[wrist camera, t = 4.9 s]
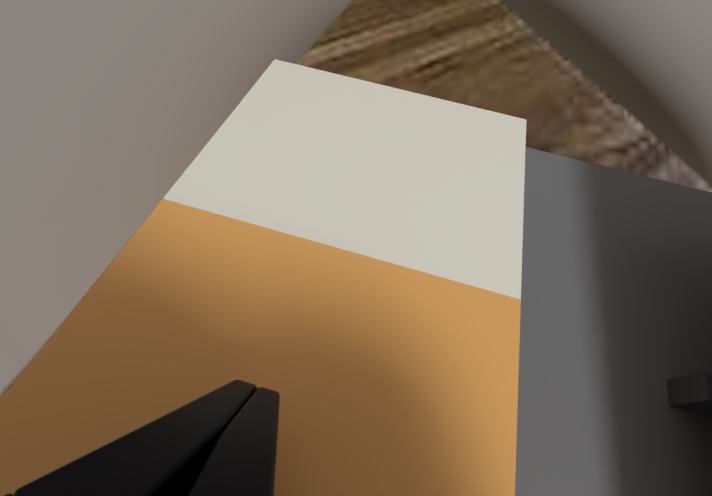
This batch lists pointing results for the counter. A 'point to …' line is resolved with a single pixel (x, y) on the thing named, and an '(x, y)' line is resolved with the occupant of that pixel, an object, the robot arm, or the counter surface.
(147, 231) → the orange and white panel
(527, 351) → the switch strip
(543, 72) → the counter surface
